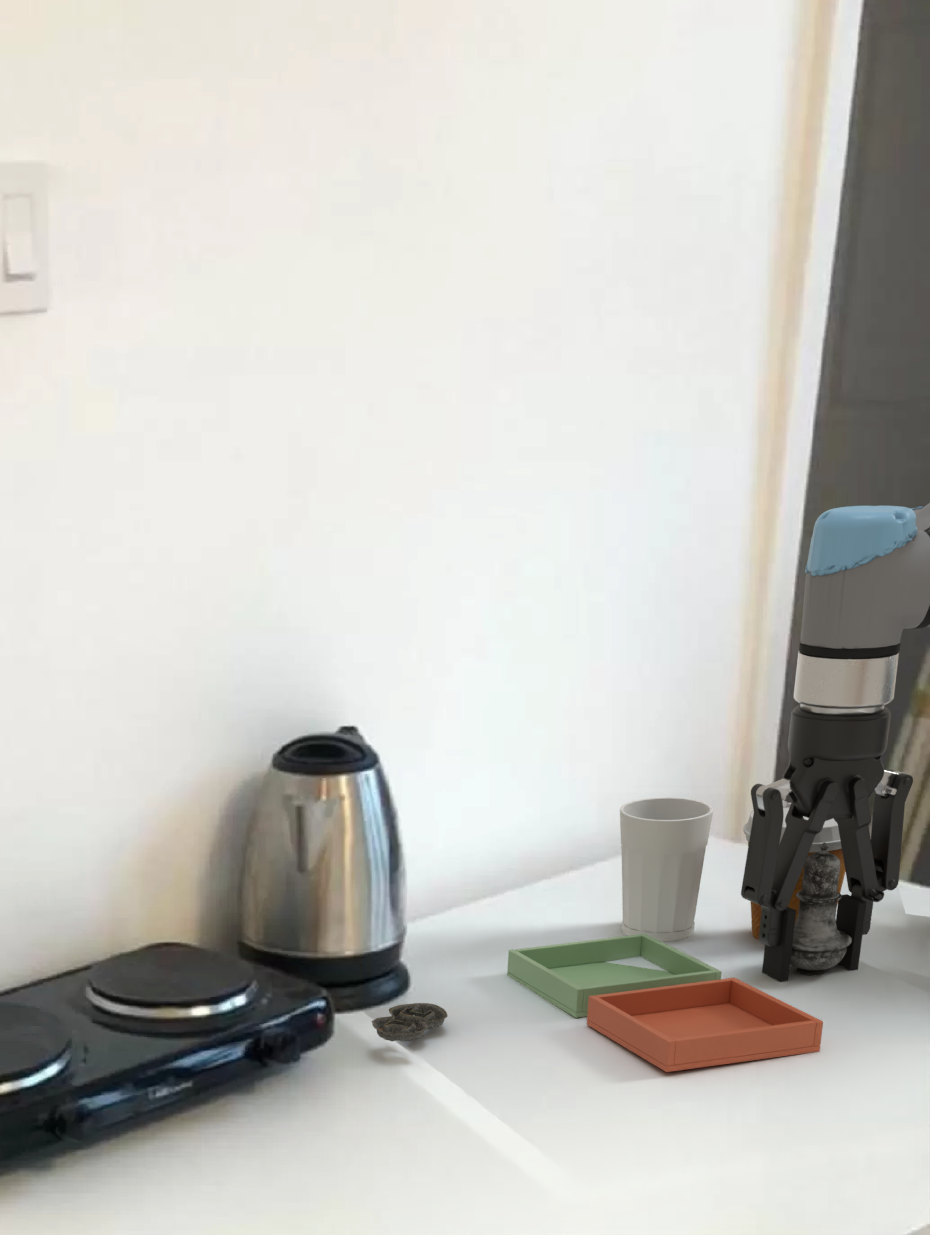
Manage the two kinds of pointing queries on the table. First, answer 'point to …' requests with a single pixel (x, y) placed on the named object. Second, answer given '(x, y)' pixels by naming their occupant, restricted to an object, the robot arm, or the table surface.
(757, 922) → the disposable coffee cup
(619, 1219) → the table surface
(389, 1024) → the corroded twin loop
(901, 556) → the robot arm
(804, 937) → the salt shaker
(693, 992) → the terracotta tray
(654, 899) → the cup
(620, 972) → the green tray
